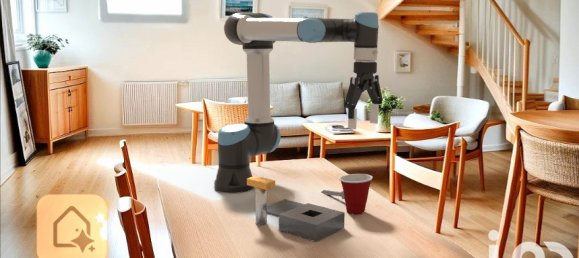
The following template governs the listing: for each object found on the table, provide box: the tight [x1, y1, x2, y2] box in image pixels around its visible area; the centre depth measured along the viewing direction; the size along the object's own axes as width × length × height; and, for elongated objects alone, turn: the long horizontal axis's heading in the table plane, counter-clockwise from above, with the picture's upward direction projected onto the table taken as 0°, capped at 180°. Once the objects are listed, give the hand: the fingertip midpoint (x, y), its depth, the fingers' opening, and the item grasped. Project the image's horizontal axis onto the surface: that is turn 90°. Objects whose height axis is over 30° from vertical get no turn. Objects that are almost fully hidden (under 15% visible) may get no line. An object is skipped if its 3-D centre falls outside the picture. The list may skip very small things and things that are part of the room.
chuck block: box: [278, 202, 346, 243], centre depth 164 cm, size 14×14×5 cm
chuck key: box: [247, 175, 276, 226], centre depth 168 cm, size 8×4×14 cm, turn 50°
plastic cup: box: [338, 173, 373, 216], centre depth 180 cm, size 11×11×12 cm
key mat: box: [267, 198, 305, 218], centre depth 182 cm, size 16×14×1 cm
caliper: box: [321, 189, 345, 200], centre depth 193 cm, size 20×1×6 cm, turn 29°
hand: (363, 125), depth 181 cm, fingers open, 13 cm apart
